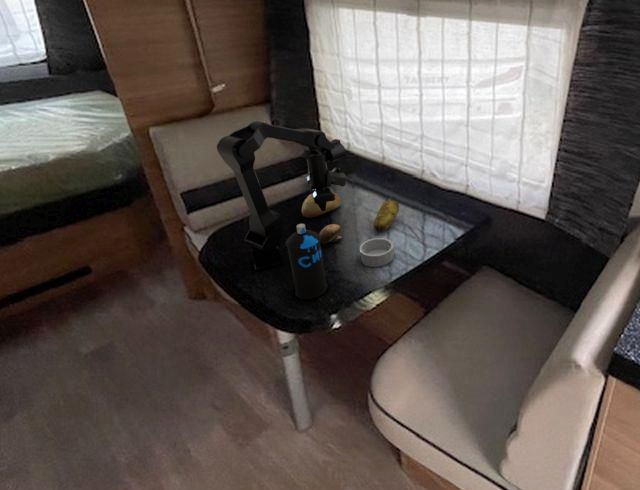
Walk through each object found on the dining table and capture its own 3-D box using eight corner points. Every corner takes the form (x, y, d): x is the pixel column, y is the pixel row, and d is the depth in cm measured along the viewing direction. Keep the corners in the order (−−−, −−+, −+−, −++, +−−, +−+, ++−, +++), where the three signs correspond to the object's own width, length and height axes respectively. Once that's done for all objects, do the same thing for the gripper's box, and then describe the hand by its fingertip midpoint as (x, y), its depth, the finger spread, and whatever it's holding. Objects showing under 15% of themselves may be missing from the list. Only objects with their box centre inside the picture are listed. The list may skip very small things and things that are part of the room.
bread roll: (348, 208, 157) (346, 189, 154) (311, 223, 146) (308, 203, 143) (333, 201, 162) (330, 182, 159) (297, 215, 151) (293, 195, 148)
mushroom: (351, 231, 135) (337, 218, 133) (333, 250, 130) (319, 236, 128) (341, 233, 141) (328, 220, 139) (324, 251, 136) (311, 238, 134)
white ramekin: (365, 270, 121) (364, 259, 120) (357, 253, 129) (356, 242, 128) (398, 262, 126) (397, 250, 124) (388, 245, 134) (388, 235, 132)
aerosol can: (288, 292, 112) (275, 227, 104) (314, 276, 118) (303, 214, 111) (308, 303, 108) (296, 237, 100) (334, 286, 114) (324, 223, 107)
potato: (364, 230, 142) (362, 209, 139) (390, 215, 153) (388, 195, 150) (382, 237, 139) (380, 215, 135) (407, 221, 149) (406, 201, 146)
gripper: (349, 173, 130) (354, 217, 136) (337, 154, 145) (342, 195, 151) (311, 179, 125) (318, 224, 131) (303, 159, 140) (310, 201, 146)
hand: (323, 210), depth 140 cm, fingers closed
